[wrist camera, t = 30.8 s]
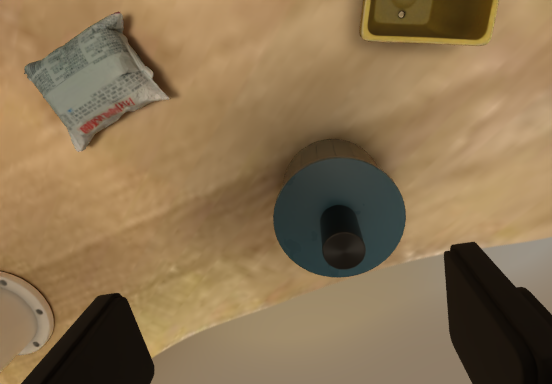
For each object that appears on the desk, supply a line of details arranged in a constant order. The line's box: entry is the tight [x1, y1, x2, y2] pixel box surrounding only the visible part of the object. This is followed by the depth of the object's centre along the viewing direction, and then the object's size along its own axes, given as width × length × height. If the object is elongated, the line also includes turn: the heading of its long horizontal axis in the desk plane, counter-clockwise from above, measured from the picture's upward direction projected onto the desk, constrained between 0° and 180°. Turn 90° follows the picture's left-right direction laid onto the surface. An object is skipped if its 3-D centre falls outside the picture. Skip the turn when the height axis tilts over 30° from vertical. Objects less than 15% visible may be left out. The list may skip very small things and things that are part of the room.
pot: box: [283, 139, 378, 186], centre depth 35 cm, size 10×10×8 cm
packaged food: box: [24, 12, 170, 152], centre depth 35 cm, size 9×12×5 cm
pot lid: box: [273, 157, 406, 277], centre depth 29 cm, size 11×11×6 cm
